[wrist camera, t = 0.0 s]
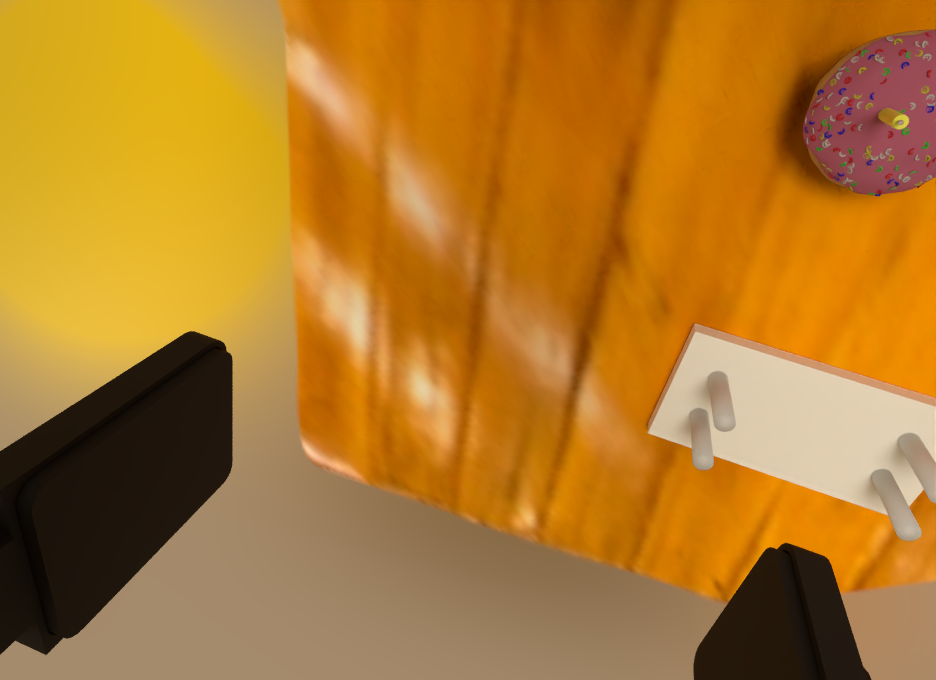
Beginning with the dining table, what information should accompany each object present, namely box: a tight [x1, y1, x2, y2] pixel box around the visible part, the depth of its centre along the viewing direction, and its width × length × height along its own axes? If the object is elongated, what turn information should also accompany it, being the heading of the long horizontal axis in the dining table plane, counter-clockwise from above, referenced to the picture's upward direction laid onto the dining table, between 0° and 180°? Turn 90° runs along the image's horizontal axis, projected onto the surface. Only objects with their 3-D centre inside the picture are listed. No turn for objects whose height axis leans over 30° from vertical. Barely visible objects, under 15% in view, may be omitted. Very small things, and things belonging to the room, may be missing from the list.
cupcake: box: [803, 30, 936, 196], centre depth 31 cm, size 9×8×12 cm
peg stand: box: [648, 323, 936, 541], centre depth 43 cm, size 20×10×8 cm, turn 78°
